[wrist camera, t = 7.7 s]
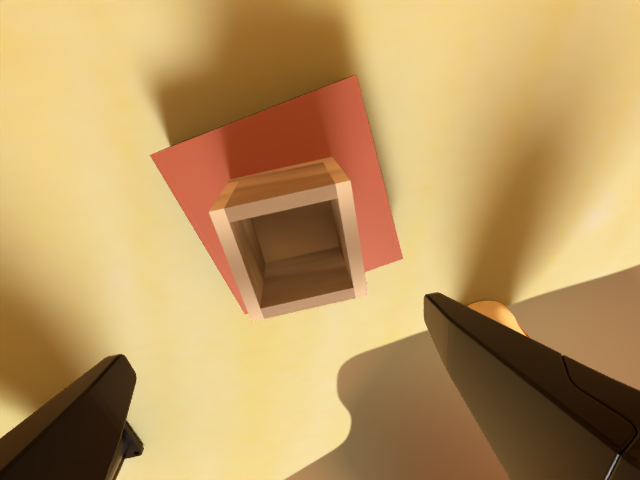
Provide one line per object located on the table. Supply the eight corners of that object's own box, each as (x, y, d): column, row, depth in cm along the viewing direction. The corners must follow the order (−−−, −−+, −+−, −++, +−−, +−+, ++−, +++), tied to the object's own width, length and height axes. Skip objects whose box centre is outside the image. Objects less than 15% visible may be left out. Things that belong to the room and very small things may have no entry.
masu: (347, 246, 19) (368, 295, 14) (259, 266, 18) (251, 321, 14) (332, 156, 16) (350, 180, 12) (229, 179, 16) (208, 211, 11)
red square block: (386, 236, 22) (402, 258, 19) (250, 284, 23) (245, 314, 20) (343, 78, 18) (356, 74, 14) (173, 145, 18) (149, 155, 15)
